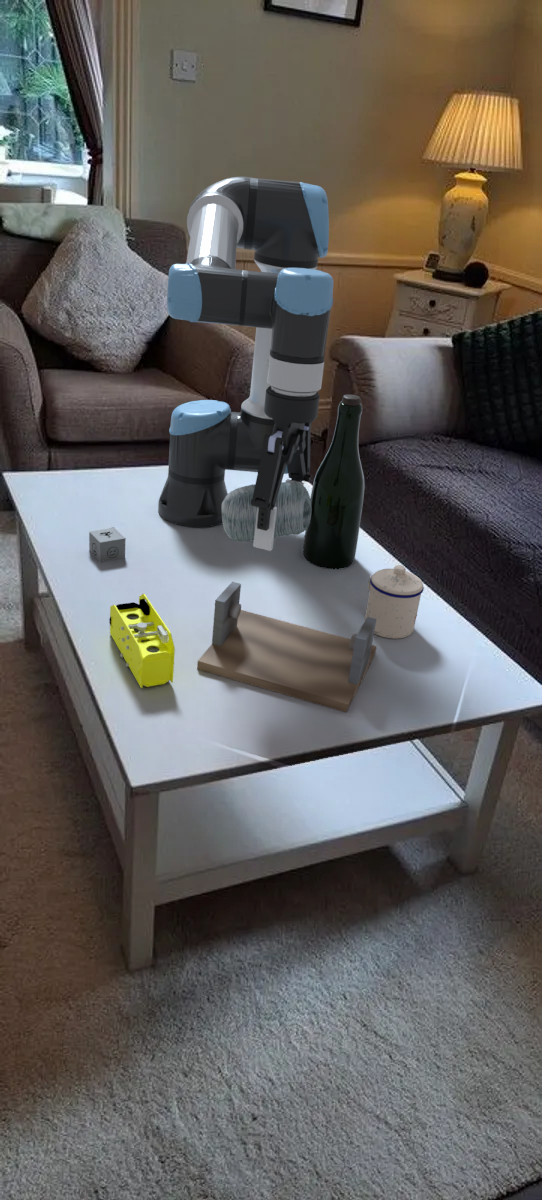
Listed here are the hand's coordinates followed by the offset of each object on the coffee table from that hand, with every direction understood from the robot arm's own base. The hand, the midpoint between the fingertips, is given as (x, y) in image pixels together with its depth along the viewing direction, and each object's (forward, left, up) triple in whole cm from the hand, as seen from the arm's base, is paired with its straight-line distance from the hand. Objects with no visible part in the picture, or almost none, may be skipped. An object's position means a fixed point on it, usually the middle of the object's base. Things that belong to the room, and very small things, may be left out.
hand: (277, 534), depth 129 cm
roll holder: (+1, +5, -21) cm, 21 cm away
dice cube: (-16, -37, -21) cm, 46 cm away
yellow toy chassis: (+12, -16, -21) cm, 29 cm away
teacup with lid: (-19, +16, -21) cm, 32 cm away
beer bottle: (-38, 0, -21) cm, 43 cm away
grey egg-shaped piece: (-1, 0, -2) cm, 2 cm away
